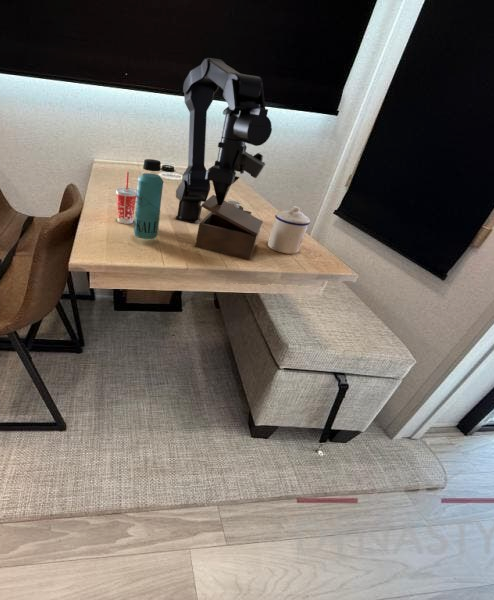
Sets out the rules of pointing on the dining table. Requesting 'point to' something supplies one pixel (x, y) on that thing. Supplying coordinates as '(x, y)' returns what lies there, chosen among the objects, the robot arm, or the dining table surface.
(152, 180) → the beverage bottle
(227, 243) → the box
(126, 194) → the beverage cup
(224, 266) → the dining table surface
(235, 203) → the push lid
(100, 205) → the dining table surface
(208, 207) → the lid
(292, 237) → the teacup with lid
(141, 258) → the dining table surface
